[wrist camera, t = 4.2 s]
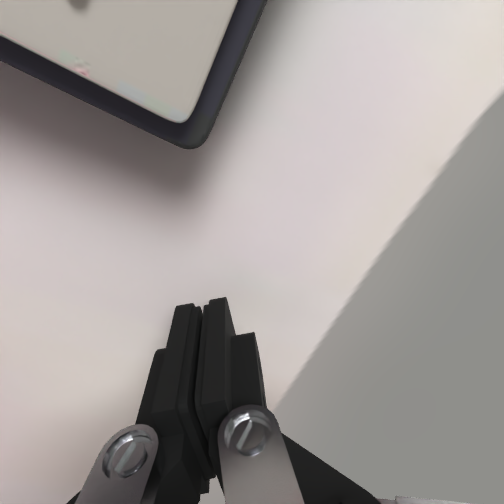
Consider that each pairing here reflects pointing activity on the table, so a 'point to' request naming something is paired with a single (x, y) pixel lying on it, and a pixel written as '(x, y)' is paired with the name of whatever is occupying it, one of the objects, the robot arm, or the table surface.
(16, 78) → the table surface
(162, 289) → the table surface
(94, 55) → the calculator
